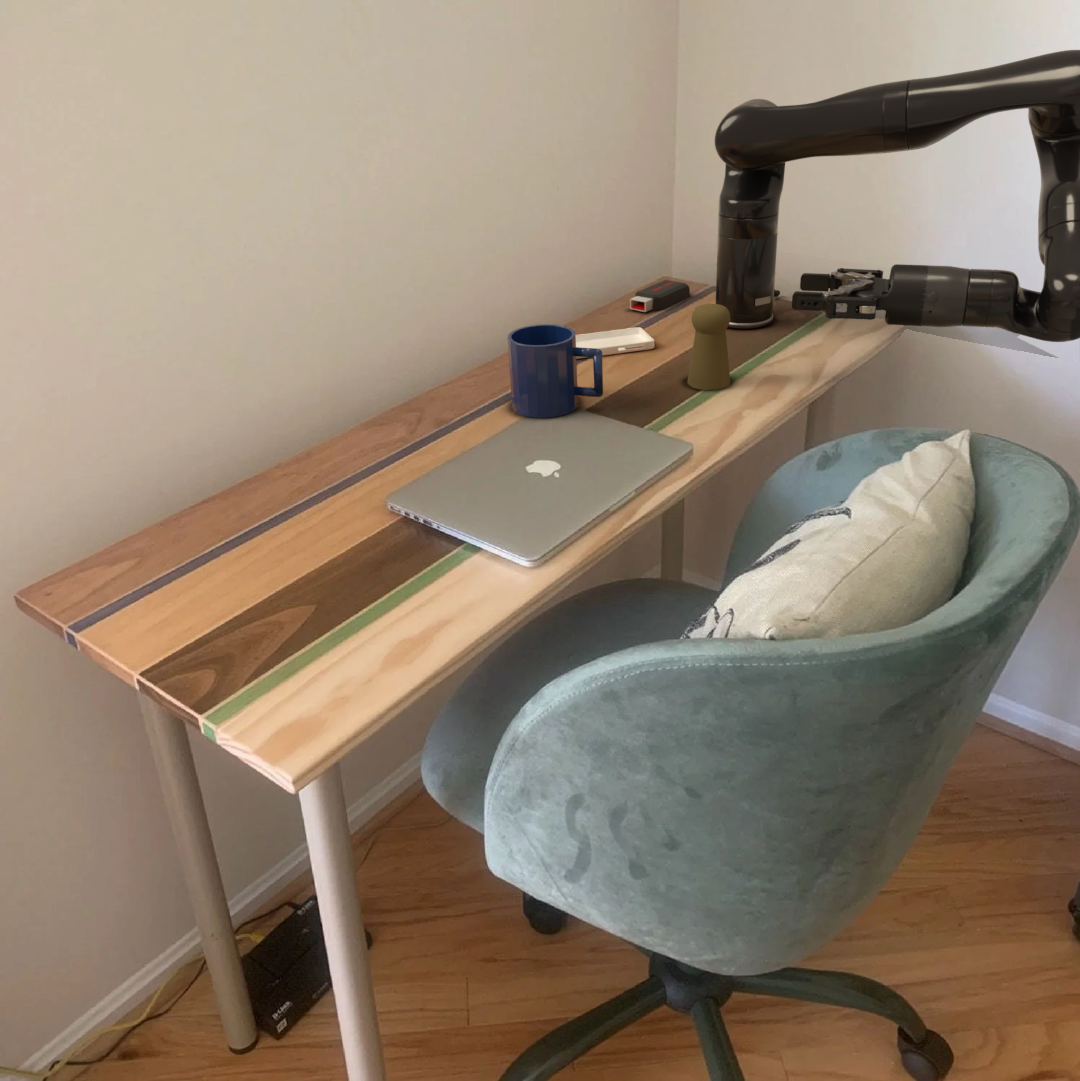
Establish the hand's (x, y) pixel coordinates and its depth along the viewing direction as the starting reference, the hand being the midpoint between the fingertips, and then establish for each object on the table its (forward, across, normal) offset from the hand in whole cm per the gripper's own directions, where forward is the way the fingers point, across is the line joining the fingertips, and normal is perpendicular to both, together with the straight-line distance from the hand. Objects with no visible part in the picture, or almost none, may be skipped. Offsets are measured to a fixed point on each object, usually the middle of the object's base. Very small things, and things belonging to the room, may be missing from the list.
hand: (796, 290), depth 136 cm
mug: (+29, -13, -14) cm, 35 cm away
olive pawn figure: (+11, 0, -14) cm, 18 cm away
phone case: (+30, +11, -14) cm, 35 cm away
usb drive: (+27, +35, -14) cm, 47 cm away
